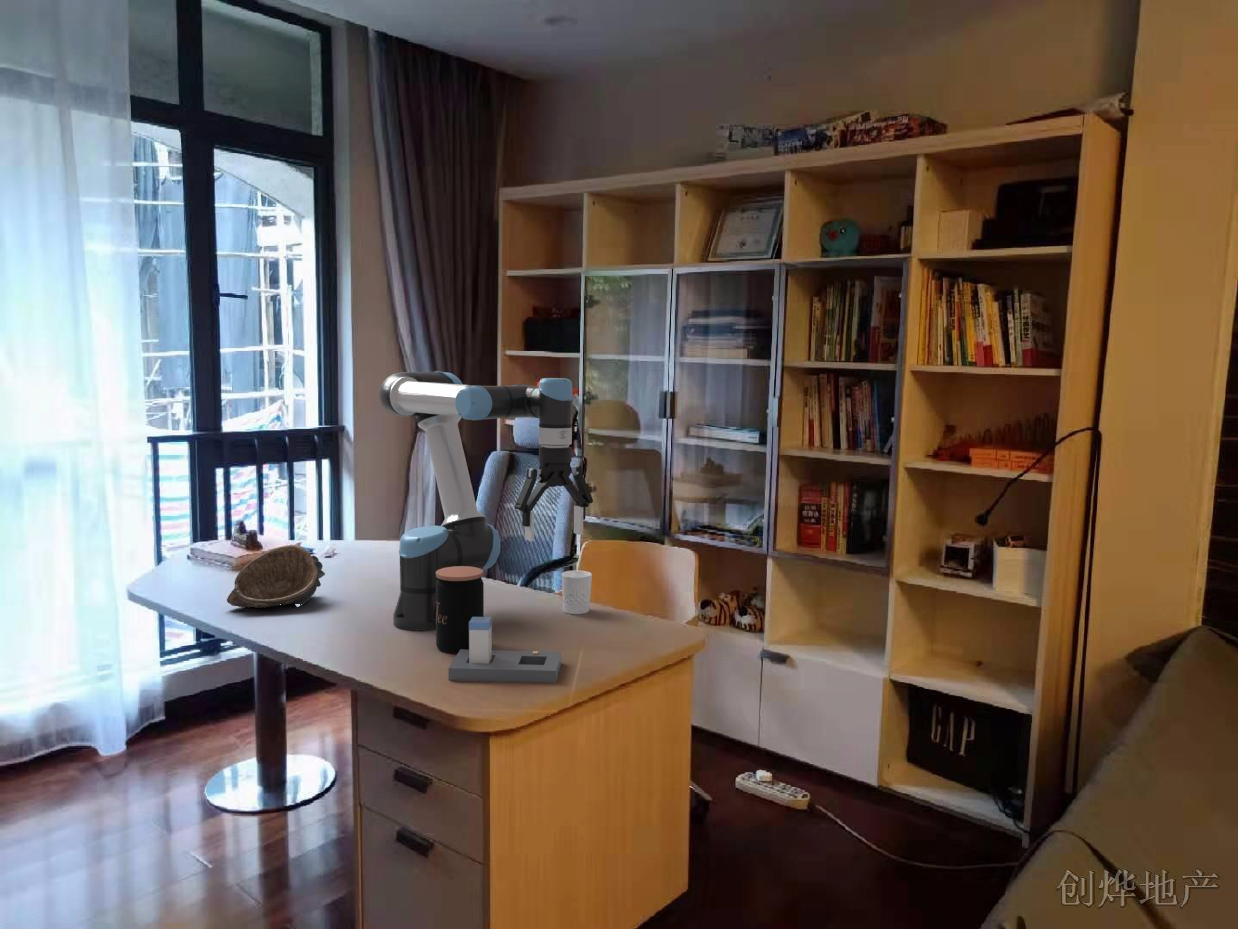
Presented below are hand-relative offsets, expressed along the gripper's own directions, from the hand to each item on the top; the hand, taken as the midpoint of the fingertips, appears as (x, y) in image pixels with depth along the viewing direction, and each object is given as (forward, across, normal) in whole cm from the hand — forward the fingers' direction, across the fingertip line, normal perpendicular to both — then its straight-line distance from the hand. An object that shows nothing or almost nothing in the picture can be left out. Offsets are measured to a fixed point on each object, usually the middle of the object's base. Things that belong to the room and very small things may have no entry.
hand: (554, 537), depth 211 cm
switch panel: (+25, -20, -12) cm, 34 cm away
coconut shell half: (+26, -41, +66) cm, 82 cm away
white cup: (+25, +19, +18) cm, 36 cm away
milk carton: (+24, -24, -9) cm, 36 cm away
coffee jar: (+25, -20, +8) cm, 33 cm away
